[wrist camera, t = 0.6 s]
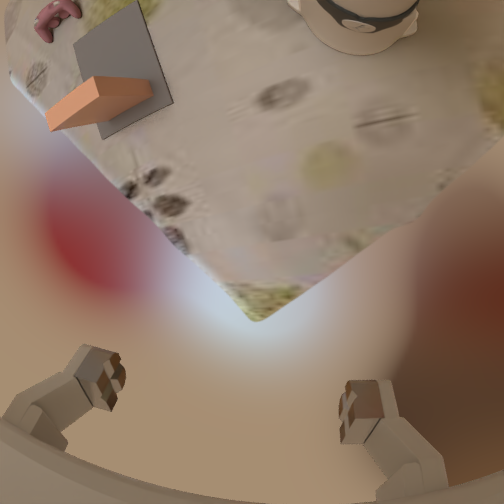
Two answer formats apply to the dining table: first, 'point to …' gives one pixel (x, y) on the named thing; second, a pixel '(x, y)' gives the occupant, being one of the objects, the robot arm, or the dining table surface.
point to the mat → (123, 62)
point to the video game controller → (48, 20)
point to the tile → (97, 101)
